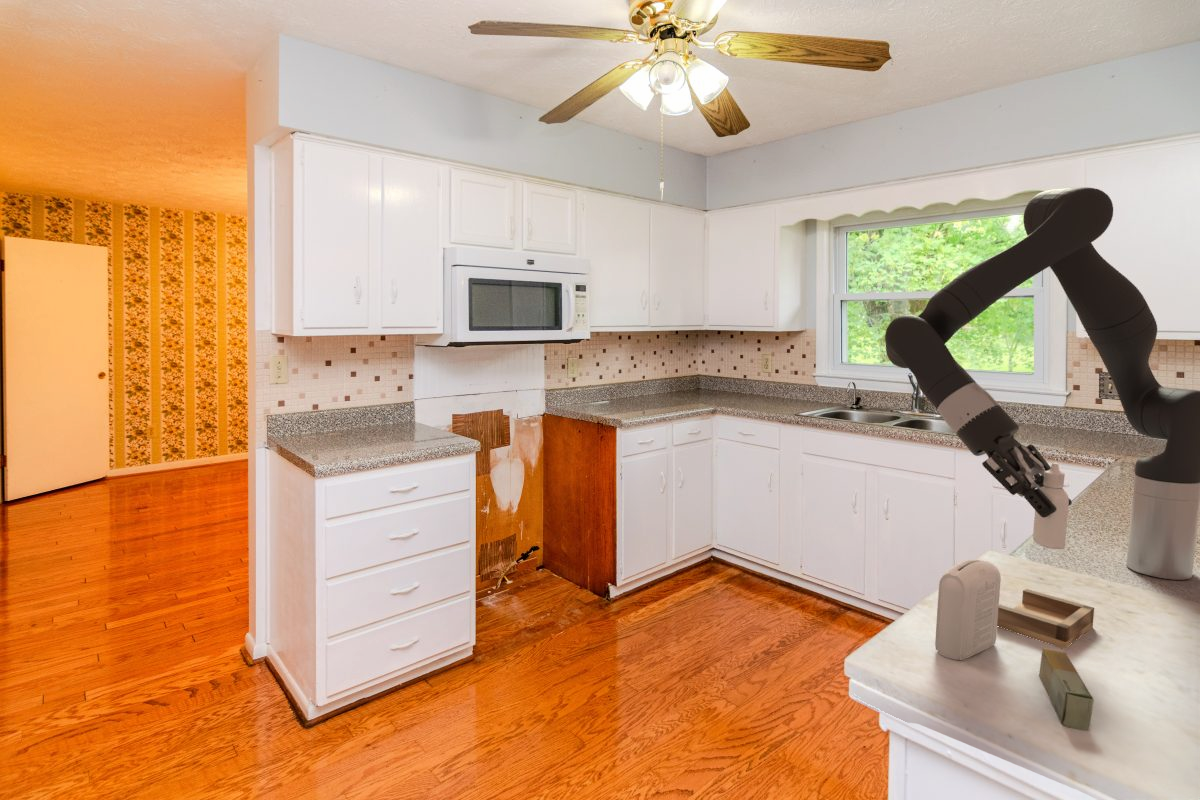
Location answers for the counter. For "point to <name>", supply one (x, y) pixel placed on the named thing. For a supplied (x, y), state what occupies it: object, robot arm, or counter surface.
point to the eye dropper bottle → (1053, 526)
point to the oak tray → (1047, 618)
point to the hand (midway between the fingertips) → (1058, 510)
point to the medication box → (1066, 690)
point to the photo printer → (967, 609)
